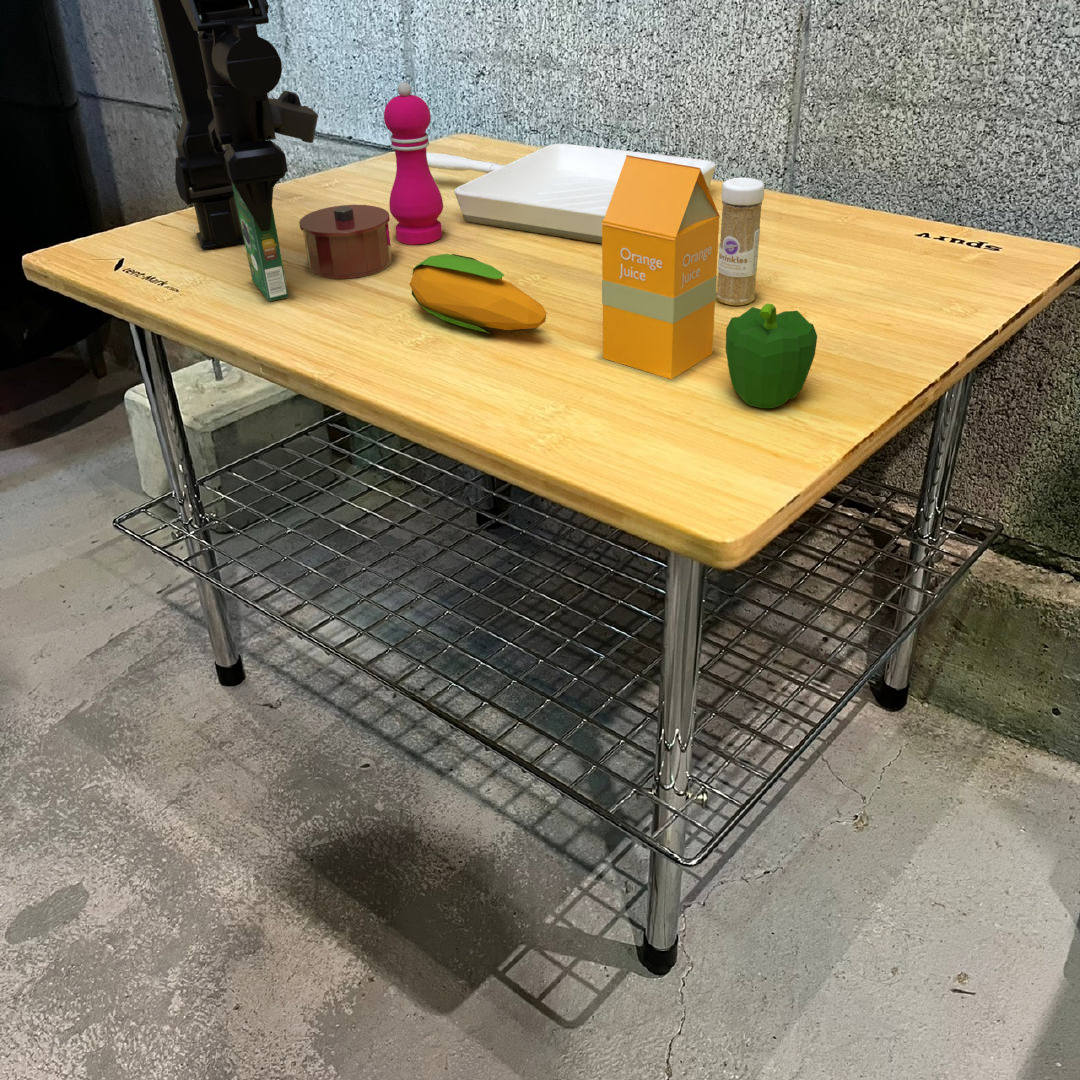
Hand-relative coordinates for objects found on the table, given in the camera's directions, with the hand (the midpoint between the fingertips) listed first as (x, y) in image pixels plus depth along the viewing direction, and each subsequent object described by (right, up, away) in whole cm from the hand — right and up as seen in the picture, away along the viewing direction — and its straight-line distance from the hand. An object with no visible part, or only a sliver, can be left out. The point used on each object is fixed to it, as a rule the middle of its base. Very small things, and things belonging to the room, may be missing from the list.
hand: (259, 219), depth 130 cm
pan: (+33, +12, +31) cm, 47 cm away
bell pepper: (+55, -24, -24) cm, 65 cm away
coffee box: (0, -7, +5) cm, 9 cm away
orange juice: (+46, -19, -15) cm, 52 cm away
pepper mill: (+17, +3, +20) cm, 26 cm away
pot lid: (+9, +2, +9) cm, 13 cm away
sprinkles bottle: (+56, -10, -3) cm, 57 cm away
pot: (+9, -2, +12) cm, 15 cm away
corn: (+27, -14, -7) cm, 31 cm away
